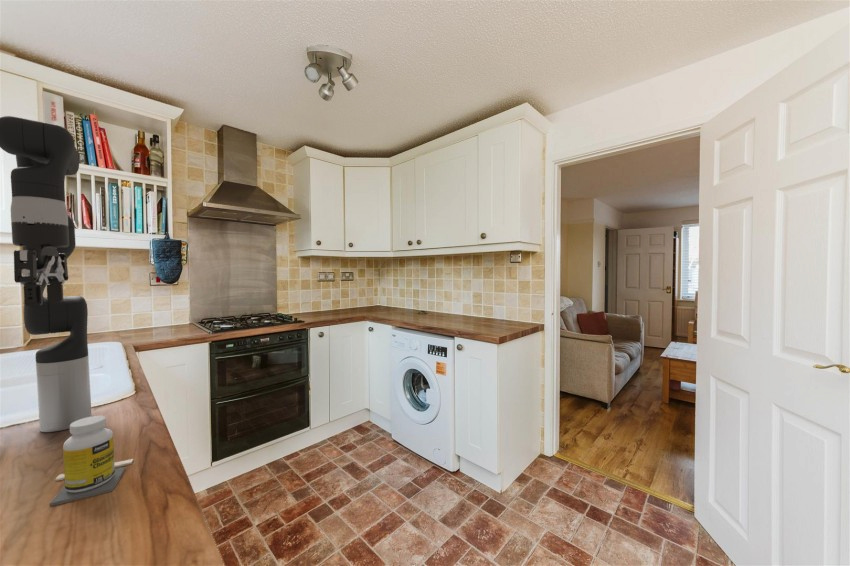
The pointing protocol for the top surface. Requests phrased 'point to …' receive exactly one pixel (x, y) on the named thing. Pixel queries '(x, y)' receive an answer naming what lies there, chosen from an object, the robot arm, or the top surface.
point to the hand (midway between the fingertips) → (45, 303)
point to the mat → (106, 487)
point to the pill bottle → (88, 455)
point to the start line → (117, 464)
